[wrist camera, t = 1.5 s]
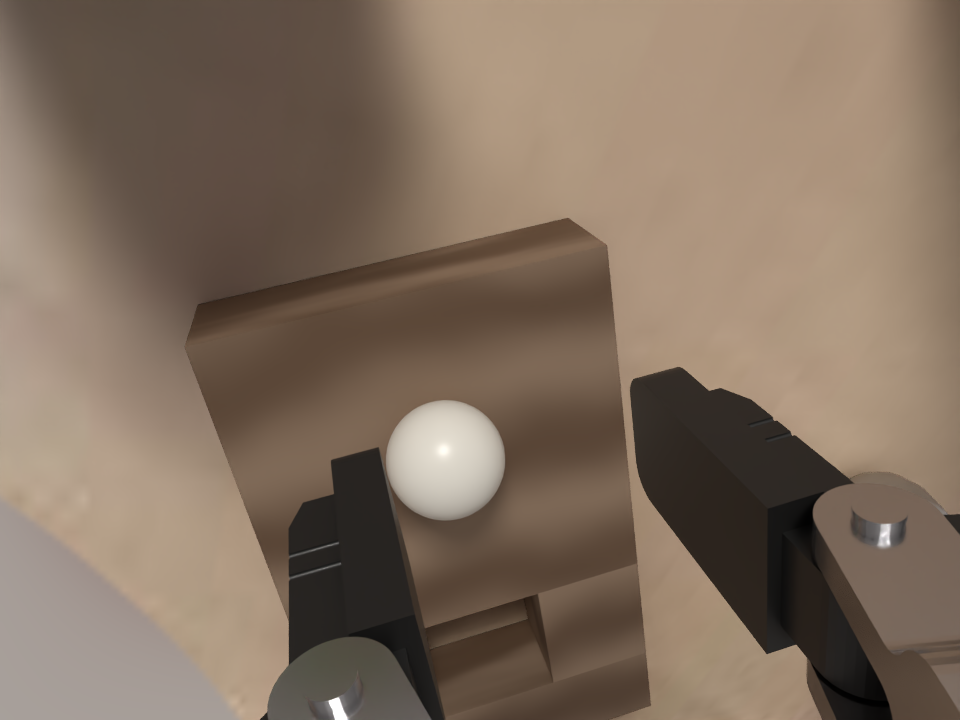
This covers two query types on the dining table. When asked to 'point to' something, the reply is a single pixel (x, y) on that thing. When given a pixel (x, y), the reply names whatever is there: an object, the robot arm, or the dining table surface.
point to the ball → (445, 460)
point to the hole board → (511, 408)
